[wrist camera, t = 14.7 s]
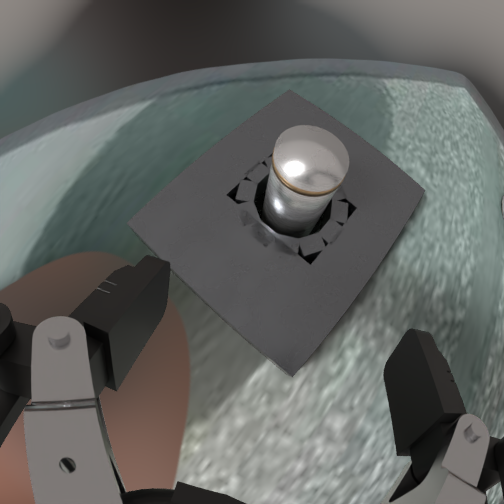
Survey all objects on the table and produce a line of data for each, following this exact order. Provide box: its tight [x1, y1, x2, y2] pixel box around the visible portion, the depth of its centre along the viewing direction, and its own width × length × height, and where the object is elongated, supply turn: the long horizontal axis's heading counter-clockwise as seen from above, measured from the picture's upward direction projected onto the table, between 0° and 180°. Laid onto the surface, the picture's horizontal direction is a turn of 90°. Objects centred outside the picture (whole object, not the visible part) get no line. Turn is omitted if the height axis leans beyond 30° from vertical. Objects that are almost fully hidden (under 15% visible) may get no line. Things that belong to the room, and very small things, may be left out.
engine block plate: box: [127, 90, 425, 377], centre depth 27 cm, size 22×18×3 cm
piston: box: [262, 125, 349, 238], centre depth 23 cm, size 5×5×10 cm
